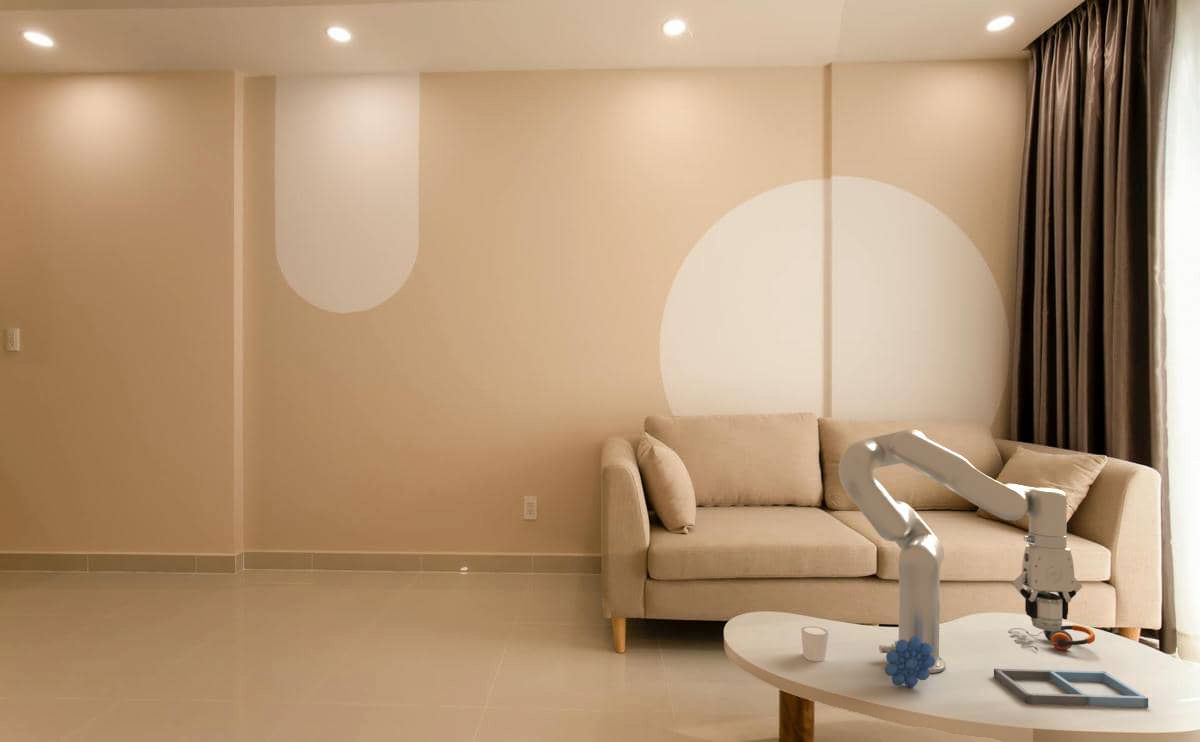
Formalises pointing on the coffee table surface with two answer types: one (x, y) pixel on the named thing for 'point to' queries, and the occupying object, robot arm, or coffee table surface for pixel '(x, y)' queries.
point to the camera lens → (1048, 611)
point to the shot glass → (814, 643)
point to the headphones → (1060, 637)
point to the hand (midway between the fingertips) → (1046, 616)
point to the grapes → (909, 662)
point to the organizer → (1070, 688)
